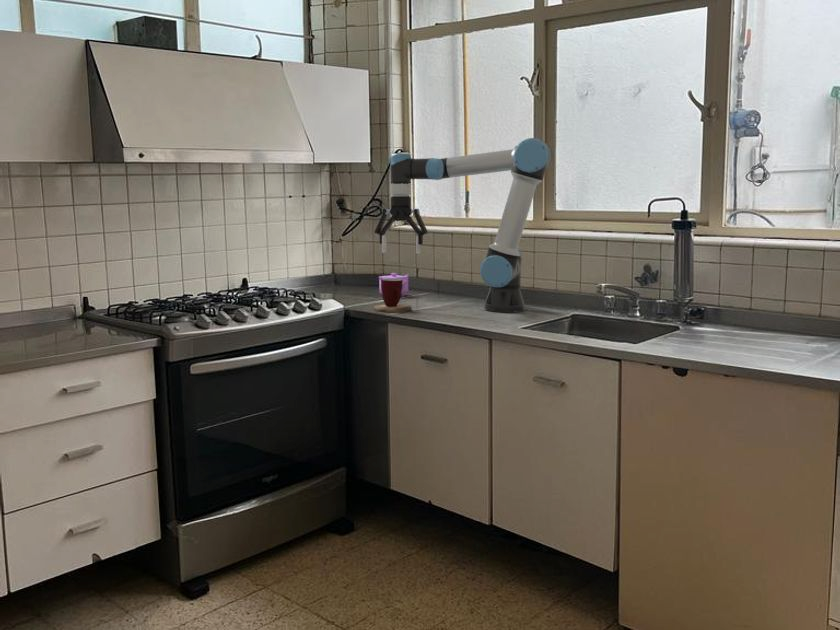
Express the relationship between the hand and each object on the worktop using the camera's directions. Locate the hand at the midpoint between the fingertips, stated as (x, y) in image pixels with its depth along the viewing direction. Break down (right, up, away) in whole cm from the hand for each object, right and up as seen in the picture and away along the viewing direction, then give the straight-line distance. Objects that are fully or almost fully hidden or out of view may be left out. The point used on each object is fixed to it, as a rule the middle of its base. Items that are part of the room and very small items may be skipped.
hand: (401, 253), depth 323 cm
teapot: (-4, -16, +39) cm, 42 cm away
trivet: (-3, -21, +2) cm, 21 cm away
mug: (-3, -20, +2) cm, 20 cm away
